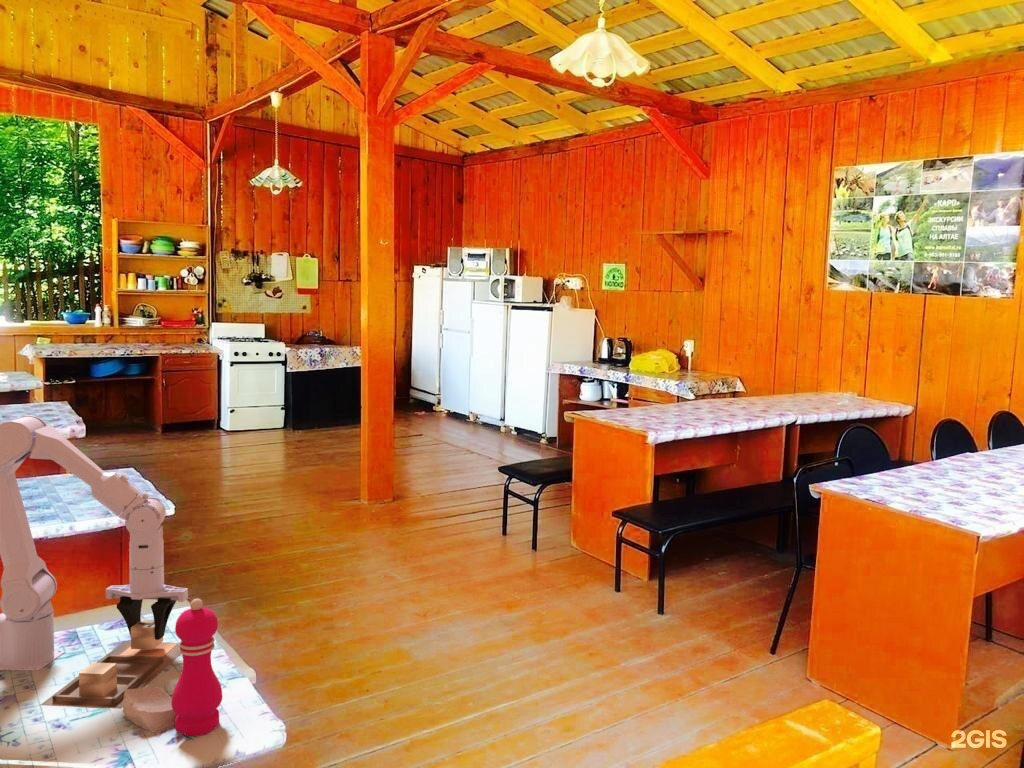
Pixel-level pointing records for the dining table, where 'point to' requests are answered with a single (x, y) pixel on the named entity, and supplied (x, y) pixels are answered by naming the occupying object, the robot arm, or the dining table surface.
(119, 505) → the robot arm
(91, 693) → the blank cube
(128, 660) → the organiser
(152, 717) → the tan faceted block
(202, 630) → the pepper mill
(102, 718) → the dining table surface
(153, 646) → the letter cube
